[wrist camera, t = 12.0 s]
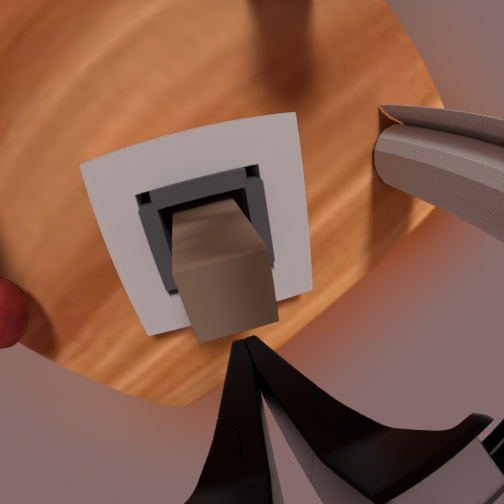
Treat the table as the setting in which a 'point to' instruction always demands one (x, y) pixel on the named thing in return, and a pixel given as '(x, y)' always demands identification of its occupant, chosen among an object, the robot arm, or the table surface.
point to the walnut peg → (221, 268)
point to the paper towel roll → (446, 162)
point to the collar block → (194, 187)
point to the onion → (12, 313)
